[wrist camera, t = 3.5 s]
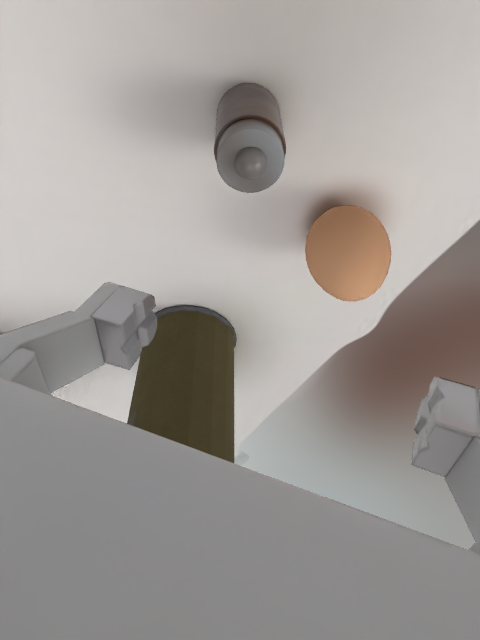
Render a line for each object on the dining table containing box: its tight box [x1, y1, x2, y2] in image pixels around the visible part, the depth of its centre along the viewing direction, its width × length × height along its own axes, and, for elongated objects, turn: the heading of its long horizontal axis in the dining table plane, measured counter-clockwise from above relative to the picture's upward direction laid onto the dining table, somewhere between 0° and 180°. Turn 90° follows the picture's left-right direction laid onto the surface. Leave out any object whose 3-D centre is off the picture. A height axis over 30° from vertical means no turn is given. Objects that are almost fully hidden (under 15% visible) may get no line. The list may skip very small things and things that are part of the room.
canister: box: [127, 306, 236, 463], centre depth 43 cm, size 11×10×20 cm
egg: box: [305, 205, 391, 301], centre depth 35 cm, size 7×7×9 cm
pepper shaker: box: [214, 83, 286, 193], centre depth 29 cm, size 5×5×8 cm
